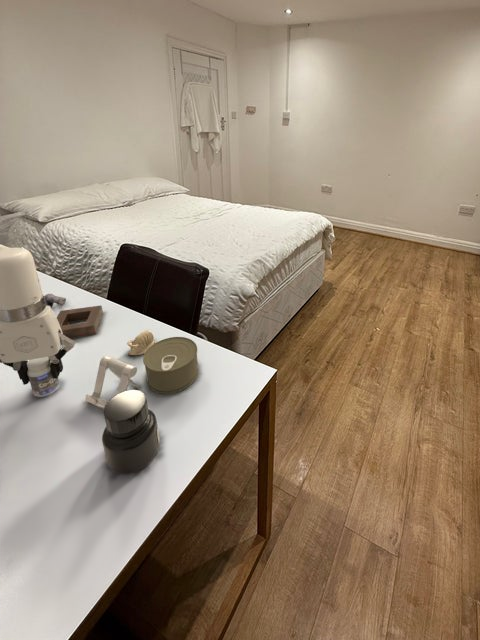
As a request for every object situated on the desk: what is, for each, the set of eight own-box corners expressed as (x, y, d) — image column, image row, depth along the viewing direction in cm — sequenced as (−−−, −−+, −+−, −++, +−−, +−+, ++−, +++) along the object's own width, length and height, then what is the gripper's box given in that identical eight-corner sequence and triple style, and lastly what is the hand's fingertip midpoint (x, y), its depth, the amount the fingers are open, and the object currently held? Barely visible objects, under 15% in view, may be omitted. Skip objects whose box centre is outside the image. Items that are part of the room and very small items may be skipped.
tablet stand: (86, 403, 70) (79, 373, 67) (117, 378, 77) (112, 350, 74) (115, 417, 67) (109, 387, 64) (145, 390, 74) (140, 361, 71)
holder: (50, 341, 88) (48, 332, 87) (62, 319, 97) (60, 310, 96) (96, 334, 92) (94, 325, 90) (103, 313, 101) (101, 305, 100)
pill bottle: (43, 400, 70) (33, 370, 67) (28, 393, 72) (18, 364, 69) (64, 384, 75) (56, 356, 72) (50, 378, 76) (42, 350, 73)
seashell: (68, 306, 106) (30, 316, 100) (65, 290, 106) (26, 300, 101) (66, 303, 101) (26, 314, 96) (63, 287, 102) (22, 297, 96)
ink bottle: (171, 437, 64) (165, 391, 60) (141, 482, 56) (131, 433, 52) (129, 425, 66) (120, 380, 62) (94, 467, 58) (81, 419, 54)
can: (201, 356, 85) (200, 335, 83) (195, 392, 74) (193, 369, 72) (154, 359, 83) (151, 338, 81) (140, 397, 72) (136, 373, 70)
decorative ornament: (159, 343, 89) (157, 327, 87) (134, 362, 82) (131, 345, 80) (148, 339, 91) (146, 323, 89) (123, 357, 84) (119, 341, 82)
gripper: (-43, 325, 59) (-13, 399, 66) (66, 311, 65) (83, 380, 72) (-22, 304, 66) (3, 373, 72) (75, 292, 71) (90, 357, 78)
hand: (43, 376), depth 72 cm, fingers closed on pill bottle, 4 cm apart
